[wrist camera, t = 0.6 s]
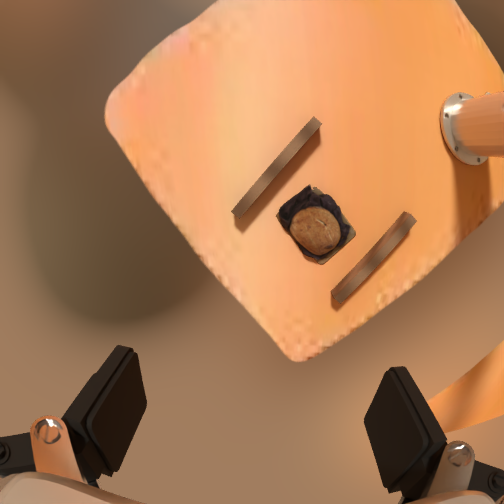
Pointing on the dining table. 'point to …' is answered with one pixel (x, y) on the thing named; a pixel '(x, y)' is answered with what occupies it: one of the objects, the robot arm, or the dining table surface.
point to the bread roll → (315, 224)
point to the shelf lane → (371, 257)
